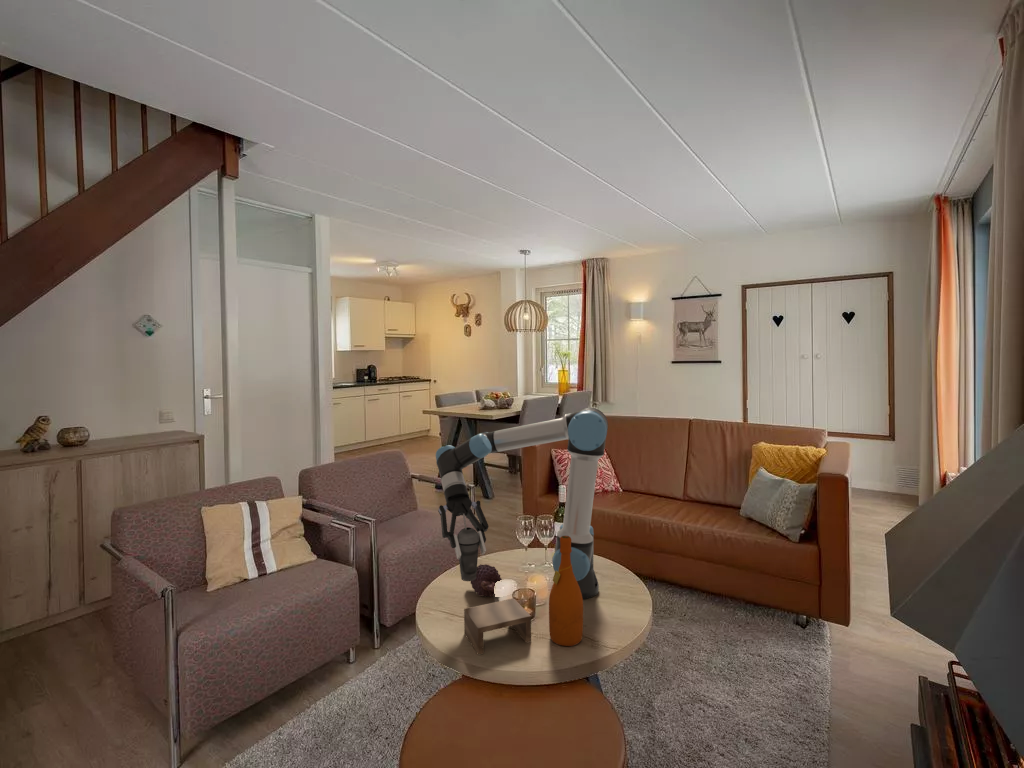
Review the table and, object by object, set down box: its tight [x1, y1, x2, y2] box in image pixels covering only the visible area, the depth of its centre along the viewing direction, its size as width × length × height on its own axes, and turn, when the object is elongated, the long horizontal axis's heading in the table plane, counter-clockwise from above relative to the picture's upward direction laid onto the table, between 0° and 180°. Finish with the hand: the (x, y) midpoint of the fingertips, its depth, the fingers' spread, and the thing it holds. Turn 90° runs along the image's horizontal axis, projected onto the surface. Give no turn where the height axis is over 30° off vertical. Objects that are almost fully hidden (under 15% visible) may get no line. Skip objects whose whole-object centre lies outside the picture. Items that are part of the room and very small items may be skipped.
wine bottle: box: [548, 536, 584, 647], centre depth 147 cm, size 10×10×30 cm
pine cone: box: [470, 563, 503, 598], centre depth 176 cm, size 18×10×10 cm, turn 37°
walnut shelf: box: [463, 598, 532, 655], centre depth 148 cm, size 16×12×8 cm
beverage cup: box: [457, 514, 480, 582], centre depth 156 cm, size 7×7×20 cm
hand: (471, 554), depth 153 cm, fingers closed on beverage cup, 7 cm apart
